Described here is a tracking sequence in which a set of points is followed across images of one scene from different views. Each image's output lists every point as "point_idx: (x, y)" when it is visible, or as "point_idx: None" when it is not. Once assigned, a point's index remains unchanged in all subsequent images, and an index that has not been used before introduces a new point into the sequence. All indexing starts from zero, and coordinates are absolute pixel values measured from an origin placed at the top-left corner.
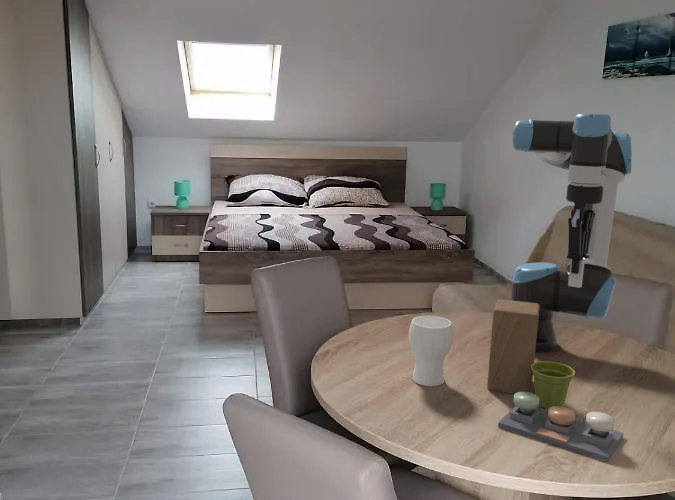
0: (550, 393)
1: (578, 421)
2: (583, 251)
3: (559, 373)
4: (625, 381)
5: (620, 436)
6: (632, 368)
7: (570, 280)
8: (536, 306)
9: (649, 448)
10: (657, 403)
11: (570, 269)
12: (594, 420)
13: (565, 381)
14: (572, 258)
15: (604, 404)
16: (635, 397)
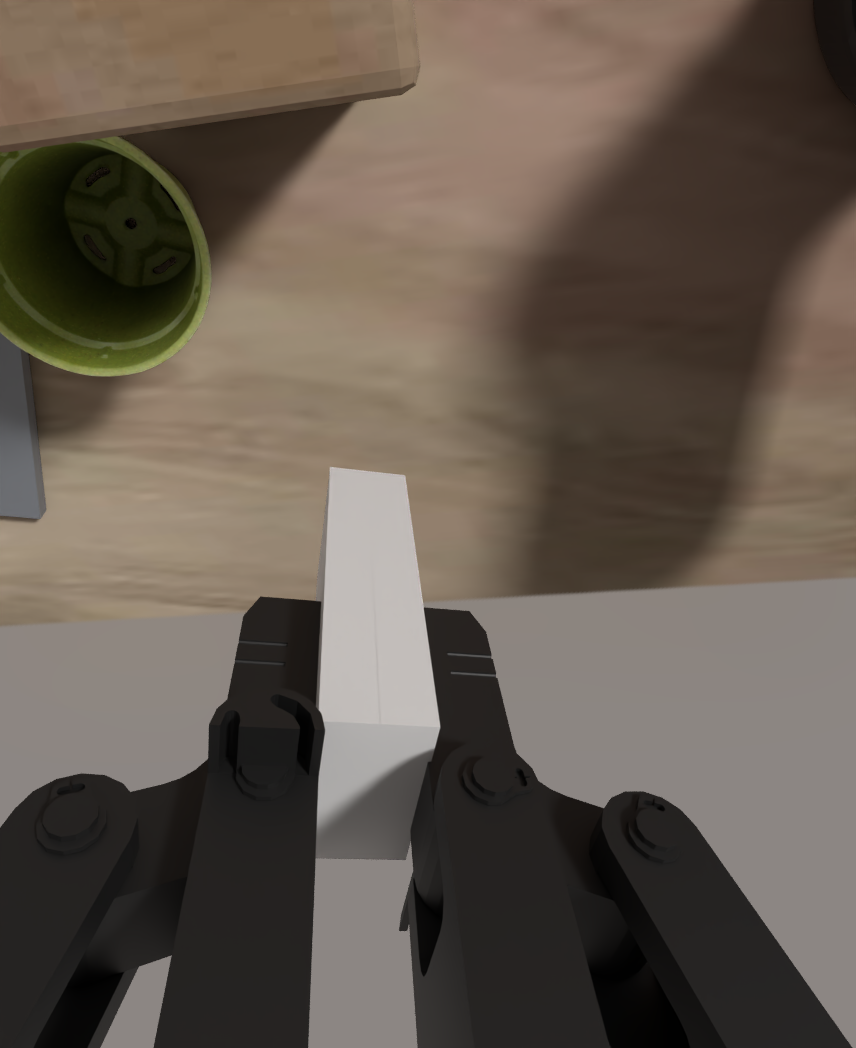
0: (27, 249)
1: (7, 372)
2: (413, 974)
3: (195, 275)
4: (567, 470)
5: (1, 514)
6: (717, 480)
7: (325, 522)
8: (275, 77)
9: (32, 579)
10: None
11: (325, 598)
12: None
13: (41, 334)
14: (164, 793)
15: (292, 428)
16: (424, 513)
